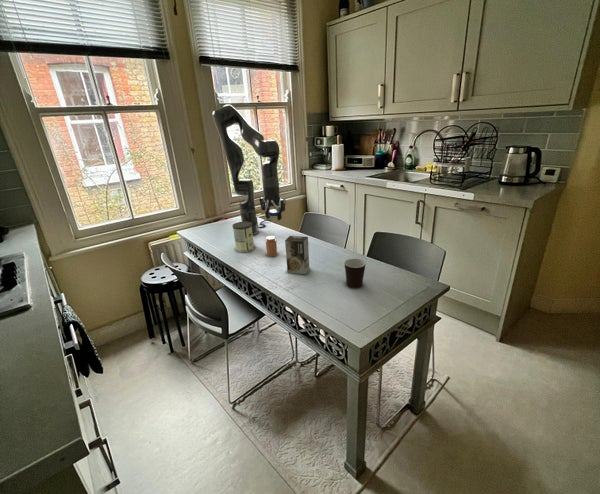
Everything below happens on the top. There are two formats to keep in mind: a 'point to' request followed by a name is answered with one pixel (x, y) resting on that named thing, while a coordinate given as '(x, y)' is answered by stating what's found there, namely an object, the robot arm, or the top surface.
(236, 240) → the coffee can
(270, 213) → the lid
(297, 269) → the coffee box
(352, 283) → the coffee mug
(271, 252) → the jar
